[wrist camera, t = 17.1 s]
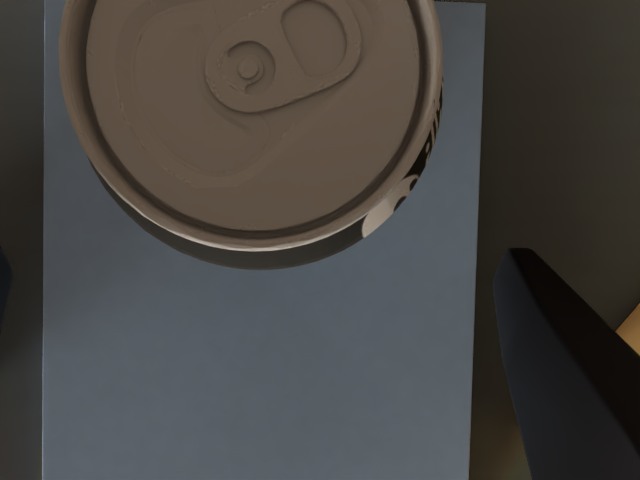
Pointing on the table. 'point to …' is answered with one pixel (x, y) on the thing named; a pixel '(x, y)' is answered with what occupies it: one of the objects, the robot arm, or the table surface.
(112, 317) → the mat
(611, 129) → the table surface
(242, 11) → the beverage can
